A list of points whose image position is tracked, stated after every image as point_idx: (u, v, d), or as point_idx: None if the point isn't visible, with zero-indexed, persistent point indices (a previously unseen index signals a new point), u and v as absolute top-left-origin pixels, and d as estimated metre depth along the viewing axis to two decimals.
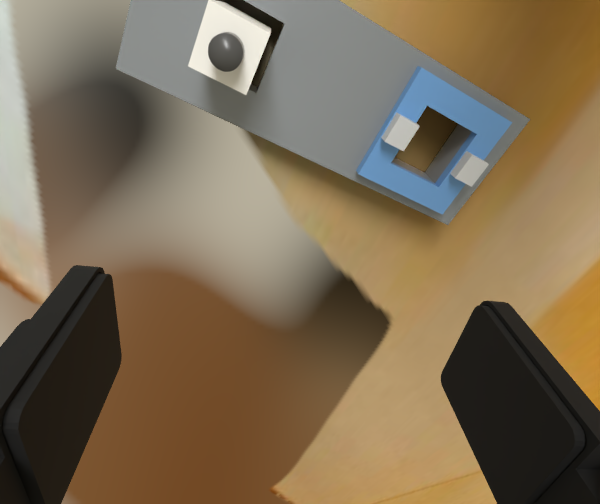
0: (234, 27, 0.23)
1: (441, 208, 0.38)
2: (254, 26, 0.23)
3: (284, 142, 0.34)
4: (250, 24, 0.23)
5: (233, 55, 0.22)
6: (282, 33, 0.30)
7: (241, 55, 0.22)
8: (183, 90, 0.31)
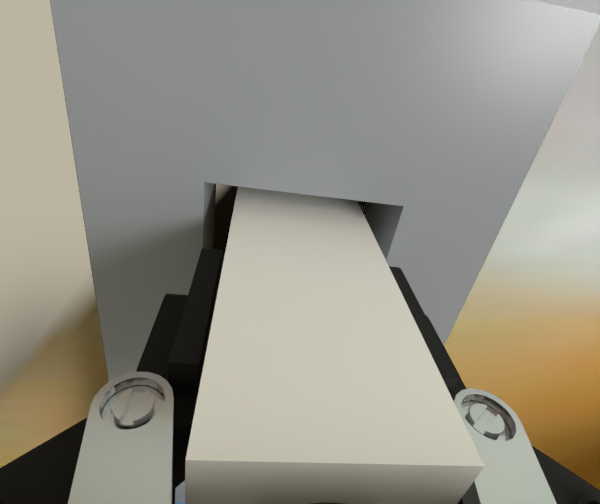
0: None
1: None
2: None
3: None
4: None
5: None
6: None
7: None
8: (108, 174, 0.10)
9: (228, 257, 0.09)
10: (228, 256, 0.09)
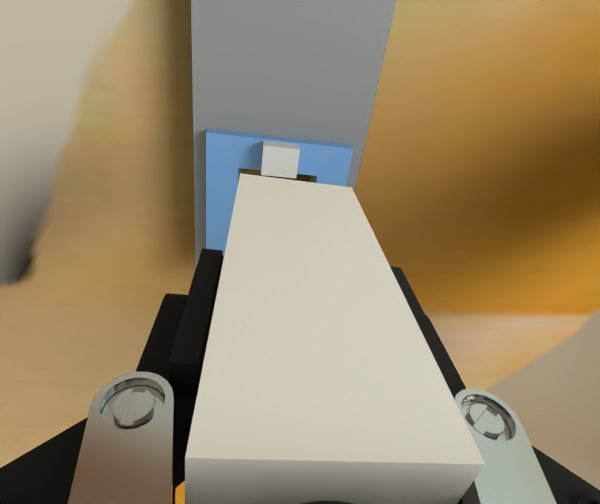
0: None
1: None
2: None
3: (199, 0, 0.22)
4: None
5: None
6: None
7: None
8: None
9: (229, 255, 0.09)
10: (228, 254, 0.09)
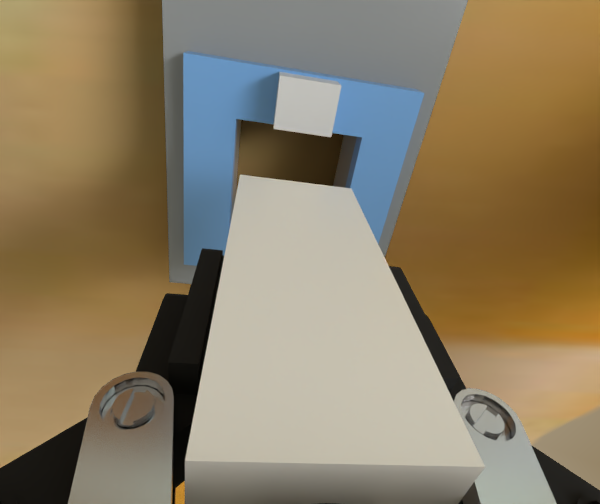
0: None
1: (193, 257, 0.20)
2: None
3: None
4: None
5: None
6: None
7: None
8: None
9: (228, 257, 0.09)
10: (228, 256, 0.09)
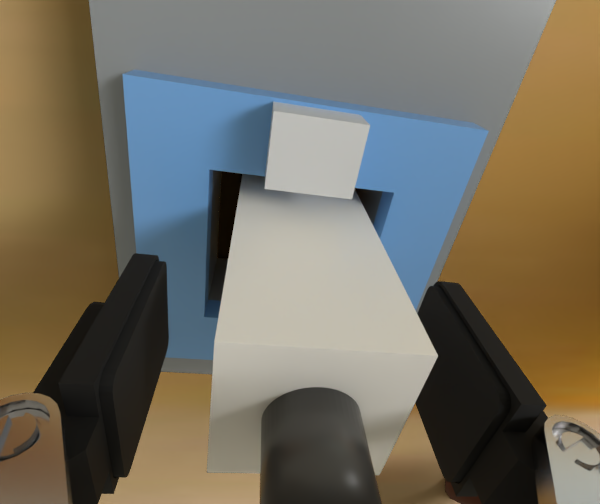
0: (376, 418, 0.08)
1: None
2: (388, 449, 0.08)
3: None
4: (390, 442, 0.08)
5: None
6: None
7: None
8: None
9: (239, 217, 0.10)
10: (238, 216, 0.10)
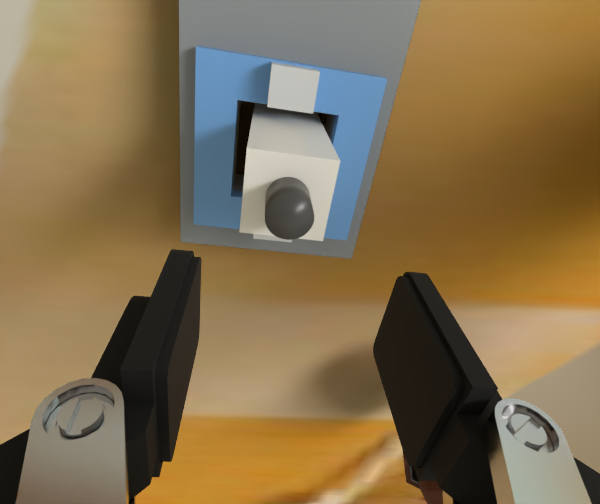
0: (317, 199, 0.17)
1: (201, 217, 0.24)
2: (325, 221, 0.18)
3: None
4: (326, 216, 0.18)
5: (290, 228, 0.15)
6: None
7: (293, 237, 0.16)
8: None
9: (253, 122, 0.20)
10: (253, 122, 0.20)
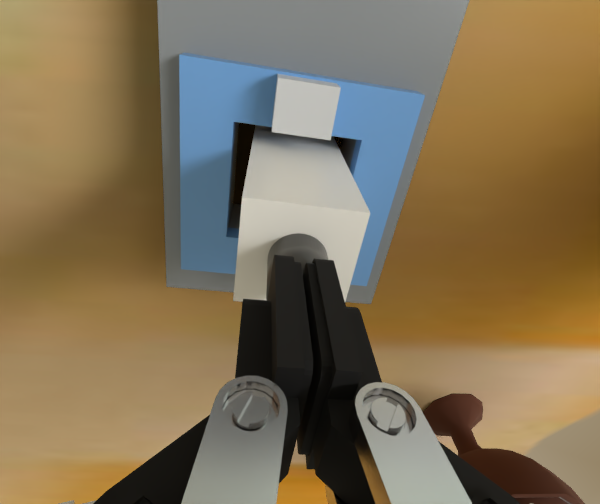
0: (337, 260, 0.13)
1: (190, 261, 0.19)
2: (346, 287, 0.13)
3: None
4: (348, 281, 0.13)
5: None
6: None
7: None
8: None
9: (253, 151, 0.15)
10: (253, 150, 0.15)
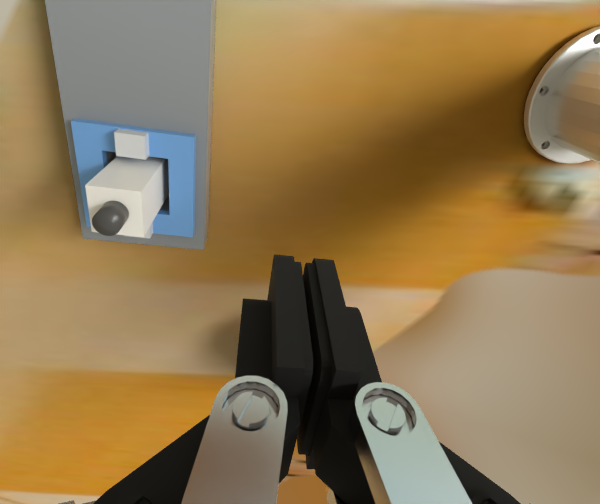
0: (133, 212, 0.30)
1: None
2: (141, 225, 0.30)
3: (54, 17, 0.28)
4: (141, 222, 0.30)
5: (108, 229, 0.28)
6: None
7: (111, 234, 0.28)
8: None
9: (109, 164, 0.32)
10: (109, 164, 0.32)
